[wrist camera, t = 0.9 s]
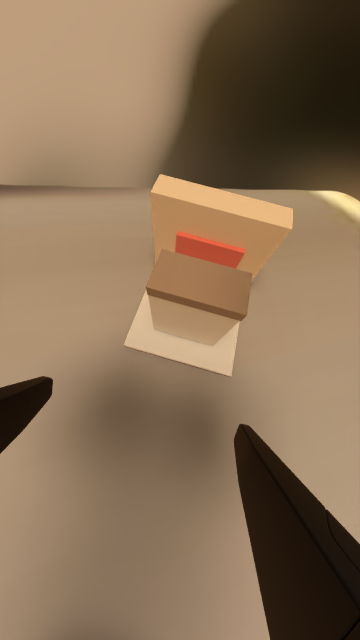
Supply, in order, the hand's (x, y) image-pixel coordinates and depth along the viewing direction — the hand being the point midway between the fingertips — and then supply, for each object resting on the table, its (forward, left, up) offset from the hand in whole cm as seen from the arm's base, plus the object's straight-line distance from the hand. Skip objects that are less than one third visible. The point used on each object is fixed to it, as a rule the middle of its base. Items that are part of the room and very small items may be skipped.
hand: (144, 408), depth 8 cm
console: (+12, +5, -14) cm, 19 cm away
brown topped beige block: (+9, +4, -14) cm, 17 cm away
